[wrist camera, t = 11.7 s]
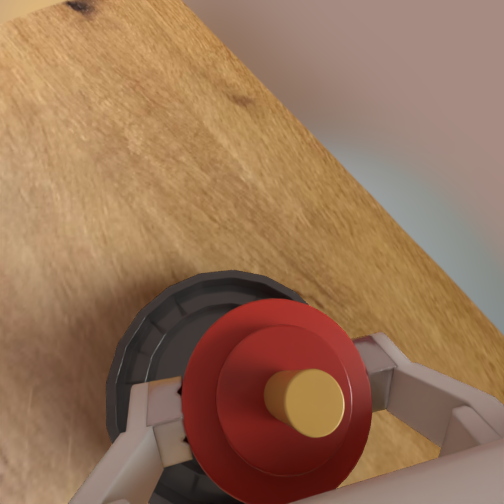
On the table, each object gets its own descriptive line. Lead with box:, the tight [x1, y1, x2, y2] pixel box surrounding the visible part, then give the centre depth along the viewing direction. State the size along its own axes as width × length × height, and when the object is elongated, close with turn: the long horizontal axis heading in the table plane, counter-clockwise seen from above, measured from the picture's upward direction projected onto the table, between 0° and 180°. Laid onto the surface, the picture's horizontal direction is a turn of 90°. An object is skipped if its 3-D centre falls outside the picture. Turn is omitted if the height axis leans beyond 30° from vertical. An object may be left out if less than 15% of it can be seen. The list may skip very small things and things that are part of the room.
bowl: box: [106, 270, 308, 504], centre depth 24 cm, size 15×15×5 cm
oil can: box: [181, 298, 372, 504], centre depth 11 cm, size 5×5×10 cm
